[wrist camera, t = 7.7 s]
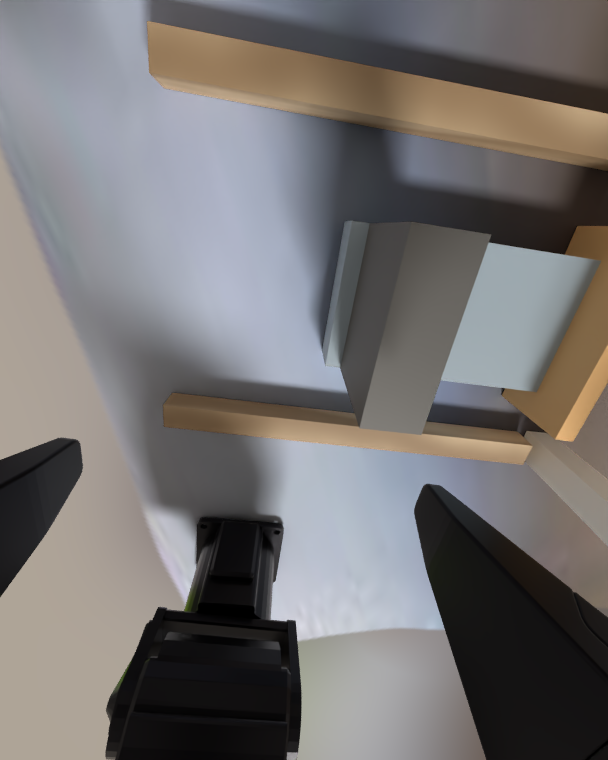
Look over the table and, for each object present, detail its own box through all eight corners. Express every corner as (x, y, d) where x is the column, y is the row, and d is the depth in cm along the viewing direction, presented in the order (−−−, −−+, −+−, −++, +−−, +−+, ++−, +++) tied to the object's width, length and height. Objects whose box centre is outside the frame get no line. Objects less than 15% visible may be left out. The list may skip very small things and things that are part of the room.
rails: (508, 449, 23) (523, 464, 22) (172, 413, 21) (163, 426, 20) (660, 140, 16) (698, 132, 14) (162, 42, 14) (147, 21, 12)
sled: (516, 397, 21) (634, 489, 14) (317, 373, 20) (331, 458, 13) (595, 229, 17) (824, 230, 10) (350, 187, 16) (397, 154, 9)
